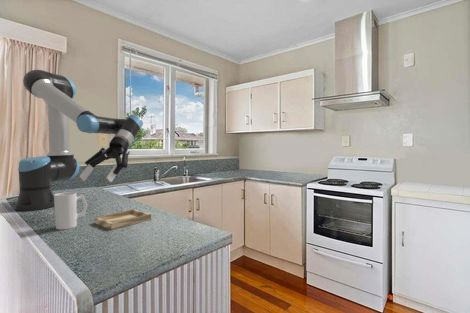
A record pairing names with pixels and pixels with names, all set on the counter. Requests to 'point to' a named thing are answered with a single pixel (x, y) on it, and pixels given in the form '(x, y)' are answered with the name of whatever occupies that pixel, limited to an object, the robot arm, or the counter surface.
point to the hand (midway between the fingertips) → (95, 179)
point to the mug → (67, 209)
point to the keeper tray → (122, 219)
